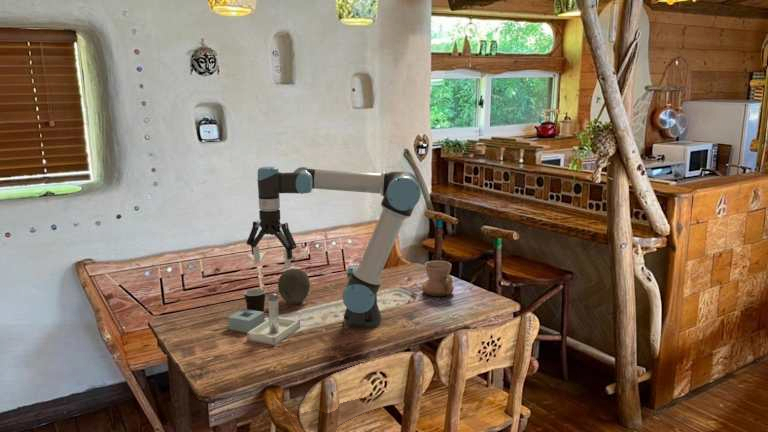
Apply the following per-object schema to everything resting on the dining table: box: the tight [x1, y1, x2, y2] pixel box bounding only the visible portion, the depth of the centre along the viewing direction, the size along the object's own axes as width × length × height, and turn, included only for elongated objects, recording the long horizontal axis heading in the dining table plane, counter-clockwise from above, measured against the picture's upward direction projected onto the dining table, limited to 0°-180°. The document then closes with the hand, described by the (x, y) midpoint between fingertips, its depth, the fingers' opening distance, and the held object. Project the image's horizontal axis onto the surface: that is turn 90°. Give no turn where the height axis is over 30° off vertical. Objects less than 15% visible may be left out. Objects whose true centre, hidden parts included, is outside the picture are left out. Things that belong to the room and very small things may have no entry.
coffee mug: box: [243, 288, 267, 313], centre depth 245 cm, size 12×9×10 cm
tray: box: [246, 316, 301, 346], centre depth 226 cm, size 12×18×3 cm, turn 157°
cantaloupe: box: [277, 268, 311, 305], centre depth 259 cm, size 14×14×15 cm
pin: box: [267, 292, 280, 334], centre depth 224 cm, size 4×4×15 cm
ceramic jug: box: [421, 260, 455, 297], centre depth 269 cm, size 18×14×14 cm
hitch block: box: [227, 308, 266, 333], centre depth 233 cm, size 10×10×5 cm
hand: (272, 265), depth 221 cm, fingers open, 13 cm apart
